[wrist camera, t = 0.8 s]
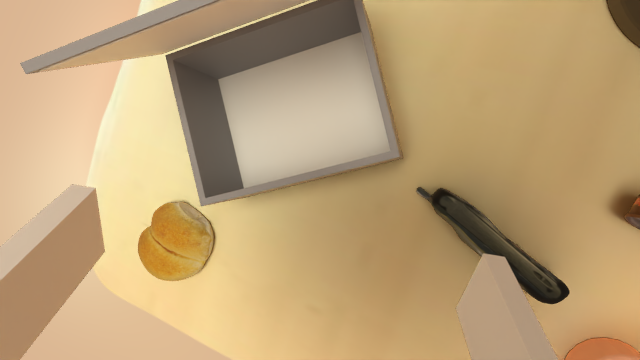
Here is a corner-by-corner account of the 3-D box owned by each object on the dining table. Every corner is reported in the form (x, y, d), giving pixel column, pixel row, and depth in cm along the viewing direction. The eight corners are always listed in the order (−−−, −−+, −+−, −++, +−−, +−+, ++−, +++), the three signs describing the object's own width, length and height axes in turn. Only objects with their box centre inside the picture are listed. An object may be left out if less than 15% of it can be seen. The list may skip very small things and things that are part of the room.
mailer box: (370, 24, 40) (357, -15, 31) (403, 158, 40) (399, 156, 31) (214, 76, 44) (165, 55, 36) (243, 197, 44) (201, 206, 35)
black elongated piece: (579, 289, 32) (434, 174, 34) (553, 315, 33) (411, 201, 35) (557, 272, 37) (430, 172, 39) (534, 295, 38) (411, 195, 40)
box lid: (360, -18, 31) (358, -27, 31) (346, -48, 18) (342, -65, 17) (159, 55, 35) (156, 47, 35) (26, 75, 22) (20, 63, 22)
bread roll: (138, 249, 48) (114, 256, 44) (176, 190, 46) (154, 192, 42) (188, 293, 46) (167, 304, 43) (228, 234, 45) (210, 240, 41)
